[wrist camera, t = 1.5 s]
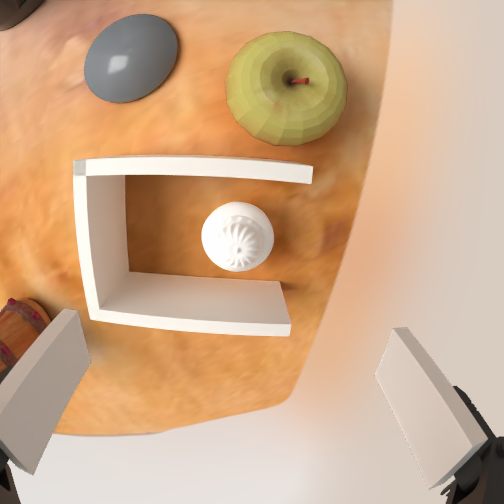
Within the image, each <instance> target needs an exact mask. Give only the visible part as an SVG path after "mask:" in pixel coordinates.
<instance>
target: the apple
mask: <svg viewBox="0 0 504 504" xmlns="http://www.w3.org/2000/svg"><path fill="white" fill-rule="evenodd" d="M347 86H348V85H347V82H346V79H345V75H344V72H343V69H342V66H341V64H340V62H339V61H338V60H337V58H336V57H335V56H334V54H333V53H332V52H331V51H330V49H329V48H328V47H326V46H325V45H323V44H322V43H320V42H319V41H317V40H316V39H314V38H312V37H310V36H306V35H303V34H299V33H295V32H290V31H285V32H274V33H266V34H264V35H262V36H260V37H258V38H255V39H253V40H251V41H249V42H247V43H246V44H245V45H244V46H243V47H242V49H241V50H240V51H239V52H238V53H237V54H236V55H235V56H234V58H233V59H232V61H231V64H230V67H229V70H228V73H227V76H226V80H225V88H226V100H227V105H228V107H229V108H230V110H231V112H232V114H233V116H234V118H235V120H236V122H237V123H238V124H239V125H240V126H241V127H242V128H244V129H245V130H246V131H247V132H248V133H249V134H250V135H251V136H253V137H254V138H256V139H259V140H262V141H264V142H267V143H269V144H272V145H274V146H299V145H302V144H304V143H307V142H310V141H313V140H316V139H319V138H321V137H322V136H323V135H324V134H326V133H327V132H328V131H329V130H330V129H331V128H333V127H334V126H335V125H336V124H337V122H338V120H339V118H340V116H341V114H342V113H343V111H344V109H345V107H346V99H347Z"/></svg>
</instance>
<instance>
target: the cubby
mask: <svg viewBox="0 0 504 504" xmlns="http://www.w3.org/2000/svg"><path fill="white" fill-rule="evenodd" d="M312 173H313V166H309V165H305V164H301V163H297V162H293V161H284V160H274V159H262V158H249V157H234V156H215V155H180V154H146V155H114V156H104V157H96V158H88V159H80V160H73V186H74V208H75V222H76V233H77V243H78V251H79V259H80V266H81V273H82V279H83V285H84V291H85V296H86V301H87V306H88V311H89V316H90V319H91V320H97V321H104V322H110V323H117V324H125V325H132V326H140V327H149V328H158V329H167V330H178V331H189V332H202V333H216V334H234V335H257V336H289V335H290V329H291V321H290V317H289V314H288V310H287V307H286V303H285V299H284V296H283V292H282V289H281V285H280V282H279V281H265V280H246V279H228V278H211V277H196V276H181V275H167V274H154V273H141V272H129V262H128V249H127V232H126V205H125V175H192V176H217V177H235V178H250V179H264V180H276V181H287V182H297V183H307V184H311V183H312Z"/></svg>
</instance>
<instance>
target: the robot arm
mask: <svg viewBox="0 0 504 504" xmlns="http://www.w3.org/2000/svg"><path fill="white" fill-rule="evenodd" d="M43 1H44V0H0V31H3V30H6V29H9V28H11V27H13V26H14V25H16V24H18V23H19V22H20V21H22V20H23V19H24V18H26V17H27V16H28V15H29V14H30V13H31V12H33V11H34V10H35V9H36V8H37V7H38V6H39V5H40V4H41V3H42V2H43ZM90 363H91V358H90V355H89V351H88V348H87V344H86V341H85V337H84V333H83V329H82V325H81V321H80V317H79V313H78V311H76V310H70V309H63V310H62V311H61V312H60V313H59V314H58V315H57V316H56V318H55V319H54V320H53V321H52V322H51V323H50V324H49V325H48V327H47V328H46V329H45V330H44V331H43V332H42V333H41V335H40V336H39V337H38V338H37V339H36V340H35V342H34V343H33V344H32V345H31V346H30V347H29V349H28V350H27V351H26V352H25V353H24V355H23V356H22V357H21V358H20V360H19V361H18V362H17V363H16V365H15V366H12V365H10V366H9V367H7V368H6V369H4V370H3V371H1V372H0V504H21V503H20V500H19V497H18V494H17V491H16V487H15V484H14V481H13V477H12V473H11V469H10V467H9V465H8V464H7V462H8V460H9V459H10V460H11V461H12V462H13V463H14V464H15V465H16V466H17V467H18V468H20V469H22V470H24V471H25V472H28V473H29V474H31V475H34V473H35V470H36V468H37V466H38V463H39V461H40V459H41V457H42V455H43V452H44V450H45V448H46V446H47V444H48V442H49V440H50V438H51V436H52V434H53V432H54V430H55V428H56V426H57V424H58V422H59V420H60V418H61V416H62V414H63V412H64V410H65V408H66V406H67V404H68V402H69V401H70V399H71V397H72V395H73V393H74V391H75V390H76V388H77V386H78V384H79V382H80V381H81V379H82V377H83V375H84V373H85V372H86V370H87V368H88V367H89V365H90ZM374 376H375V378H376V380H377V382H378V384H379V386H380V388H381V390H382V392H383V393H384V396H385V397H386V399H387V402H388V403H389V406H390V408H391V409H392V412H393V413H394V416H395V417H396V419H397V422H398V424H399V426H400V428H401V430H402V432H403V434H404V436H405V438H406V440H407V442H408V445H409V447H410V449H411V451H412V453H413V456H414V458H415V460H416V462H417V464H418V467H419V469H420V471H421V473H422V476H423V478H424V480H425V482H426V485H427V487H428V489H431V488H434V487H436V486H438V485H441V484H443V483H445V482H446V481H447V480H448V479H449V478H450V477H451V476H453V475H454V476H455V478H456V479H455V480H454V481H453V482H452V483H451V484H450V485H448V486H447V487H446V488H445V489H444V490H443V491H442V492H441V495H443V494H445V493H446V492H447V491H448V490H449V489H450V492H449V493H448V494H447V495H446V496H448V498H447V501H446V504H504V437H498V438H497V437H496V436H495V435H494V434H493V432H492V431H491V429H490V428H489V426H488V425H487V423H486V422H485V420H484V419H483V417H482V416H481V414H480V413H479V411H477V410H476V407H475V406H474V404H472V403H471V400H470V399H469V397H468V396H467V395H466V393H465V392H463V391H462V390H461V389H459V388H458V387H457V386H452V385H451V384H450V383H449V381H448V380H447V378H446V377H445V376H444V374H443V373H442V372H441V370H440V369H439V368H438V366H437V365H436V364H435V362H434V361H433V360H432V358H431V357H430V356H429V354H428V353H427V352H426V351H425V349H424V348H423V347H422V346H421V344H420V343H419V342H418V340H417V339H416V338H415V337H414V335H413V334H412V333H411V332H410V330H409V329H408V328H407V327H404V328H393V330H392V332H391V335H390V338H389V340H388V343H387V346H386V348H385V351H384V353H383V356H382V358H381V361H380V363H379V366H378V368H377V370H376V373H375V375H374Z"/></svg>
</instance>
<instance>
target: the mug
mask: <svg viewBox="0 0 504 504" xmlns="http://www.w3.org/2000/svg"><path fill="white" fill-rule="evenodd" d="M50 323H51V321H50V319H49V317H48V315H47V313H46V312H45V311H44V309H43V308H42V307H41V306H40V305H39V304H37V303H36V302H35V301H33V300H30V299H27V298H21V299H18V300H14V299H12V298H10V299H9V300H8V302H7V305H6V306H5V307H4V308H3V309H2V310H1V312H0V372H1V371H3V370H4V369H6V368H7V367H9V366H10V365H12V366H15V365H16V363H17V362H18V361H19V360H20V358H21V357H22V356H23V355H24V353H25V352H26V351H27V350H28V349H29V347H30V346H31V345H32V344H33V343H34V342H35V340H36V339H37V338H38V337H39V336H40V335H41V333H42V332H43V331H44V330H45V329H46V328H47V327H48V325H49V324H50Z"/></svg>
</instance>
